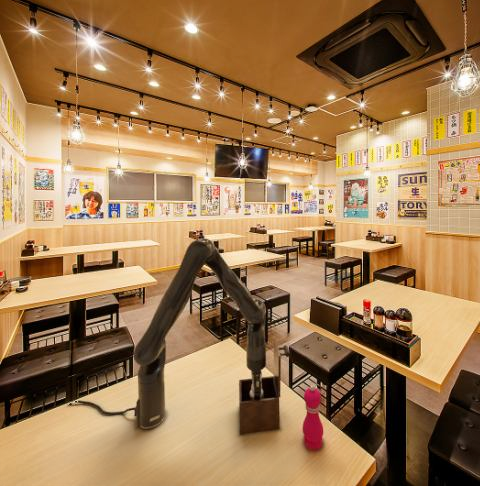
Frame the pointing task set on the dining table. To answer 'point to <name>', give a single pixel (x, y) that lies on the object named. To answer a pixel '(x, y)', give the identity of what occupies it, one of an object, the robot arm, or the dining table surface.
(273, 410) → the chest
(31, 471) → the dining table surface
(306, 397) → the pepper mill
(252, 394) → the pill bottle
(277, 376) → the lid
